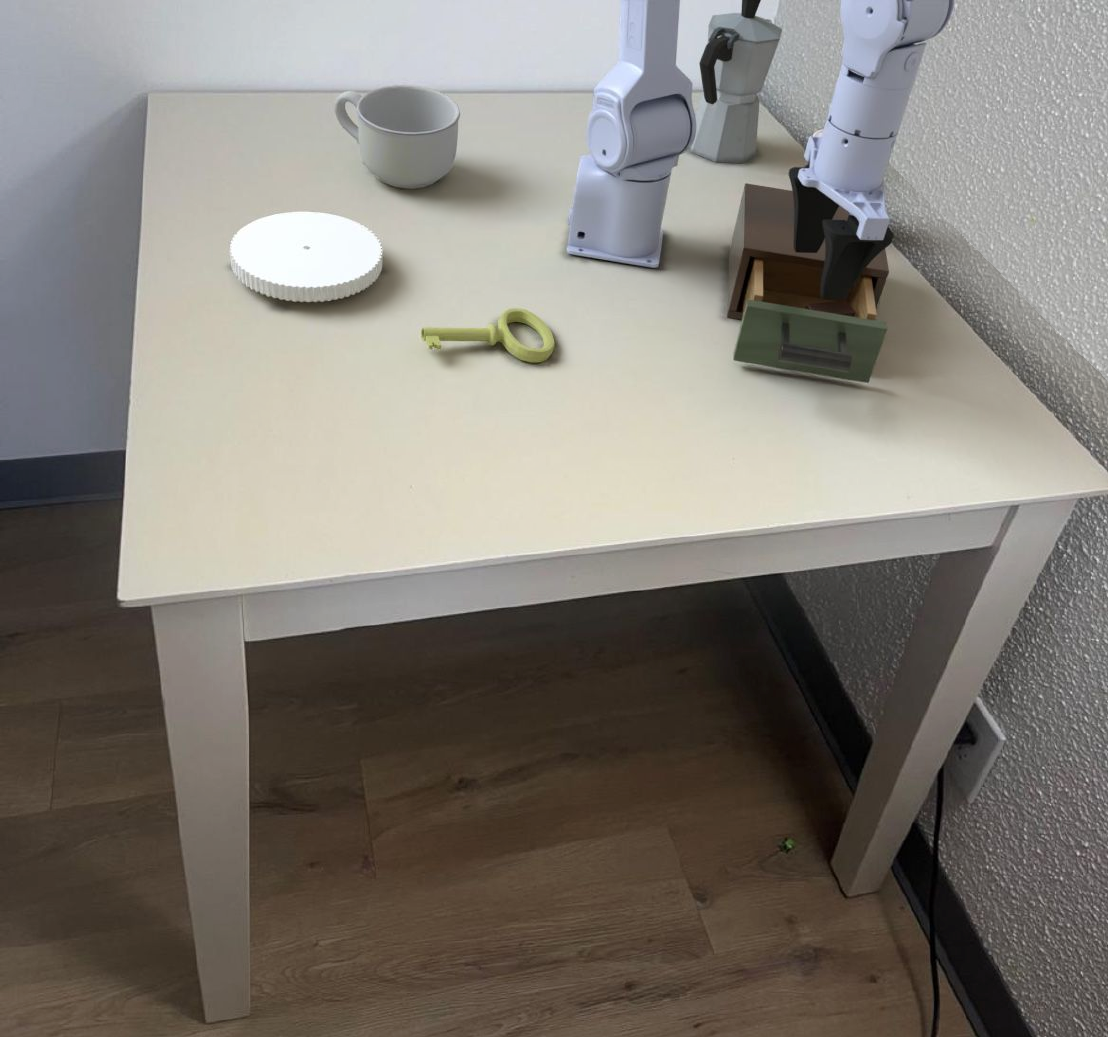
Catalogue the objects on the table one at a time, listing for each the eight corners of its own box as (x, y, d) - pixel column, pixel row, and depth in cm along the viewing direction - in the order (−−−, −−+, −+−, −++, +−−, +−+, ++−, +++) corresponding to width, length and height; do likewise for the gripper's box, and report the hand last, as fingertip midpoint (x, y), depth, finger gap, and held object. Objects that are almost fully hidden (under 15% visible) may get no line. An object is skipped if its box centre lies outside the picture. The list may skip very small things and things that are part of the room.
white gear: (221, 240, 114) (219, 216, 112) (363, 229, 118) (363, 206, 116) (244, 318, 104) (242, 294, 103) (397, 303, 109) (398, 280, 107)
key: (413, 347, 104) (414, 326, 102) (526, 314, 110) (528, 295, 108) (456, 390, 100) (458, 369, 98) (571, 354, 106) (574, 334, 104)
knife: (838, 325, 111) (846, 300, 109) (847, 337, 109) (856, 312, 107) (761, 332, 108) (768, 306, 106) (770, 344, 107) (777, 318, 105)
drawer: (872, 415, 102) (892, 360, 98) (732, 392, 102) (746, 336, 99) (859, 311, 115) (877, 259, 111) (735, 290, 116) (748, 237, 112)
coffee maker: (715, 120, 148) (746, -29, 136) (775, 144, 145) (813, -7, 133) (652, 155, 138) (679, -2, 126) (716, 182, 135) (750, 23, 123)
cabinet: (865, 340, 113) (889, 271, 108) (726, 317, 113) (743, 247, 108) (857, 270, 123) (878, 204, 118) (729, 249, 123) (745, 182, 118)
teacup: (475, 176, 130) (480, 106, 124) (415, 210, 122) (417, 137, 117) (376, 136, 134) (377, 67, 129) (313, 167, 127) (310, 94, 122)
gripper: (788, 84, 98) (752, 230, 107) (846, 163, 87) (800, 318, 96) (867, 88, 99) (825, 232, 108) (933, 166, 88) (880, 319, 98)
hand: (818, 273), depth 102 cm, fingers open, 7 cm apart
